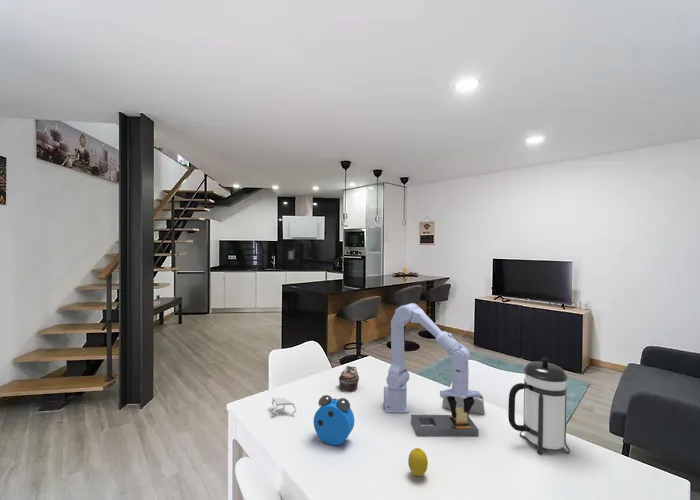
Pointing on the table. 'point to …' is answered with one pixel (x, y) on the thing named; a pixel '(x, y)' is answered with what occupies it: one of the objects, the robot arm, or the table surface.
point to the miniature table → (281, 402)
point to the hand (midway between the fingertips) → (459, 416)
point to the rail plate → (442, 426)
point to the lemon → (417, 462)
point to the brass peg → (460, 417)
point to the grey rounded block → (476, 407)
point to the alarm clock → (333, 420)
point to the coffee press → (542, 405)
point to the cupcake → (349, 379)
